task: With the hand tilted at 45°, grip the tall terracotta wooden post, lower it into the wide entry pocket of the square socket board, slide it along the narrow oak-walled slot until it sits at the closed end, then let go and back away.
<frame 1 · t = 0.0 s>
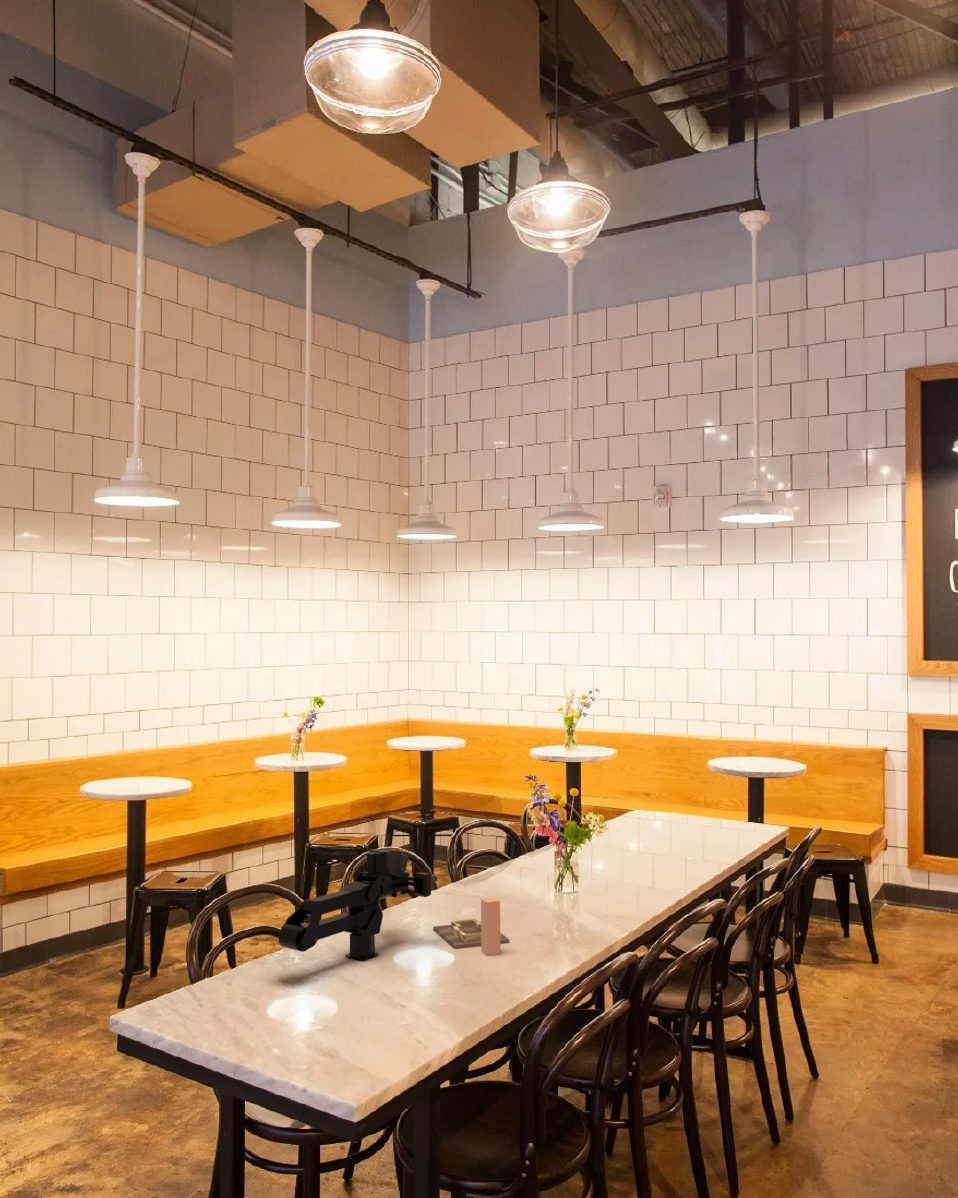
hand: (421, 876, 290), 16 cm above the table, tool horizontal, fingers open, 9 cm apart
terracotta post: (490, 953, 270), on the table
square socket board: (470, 936, 286), on the table
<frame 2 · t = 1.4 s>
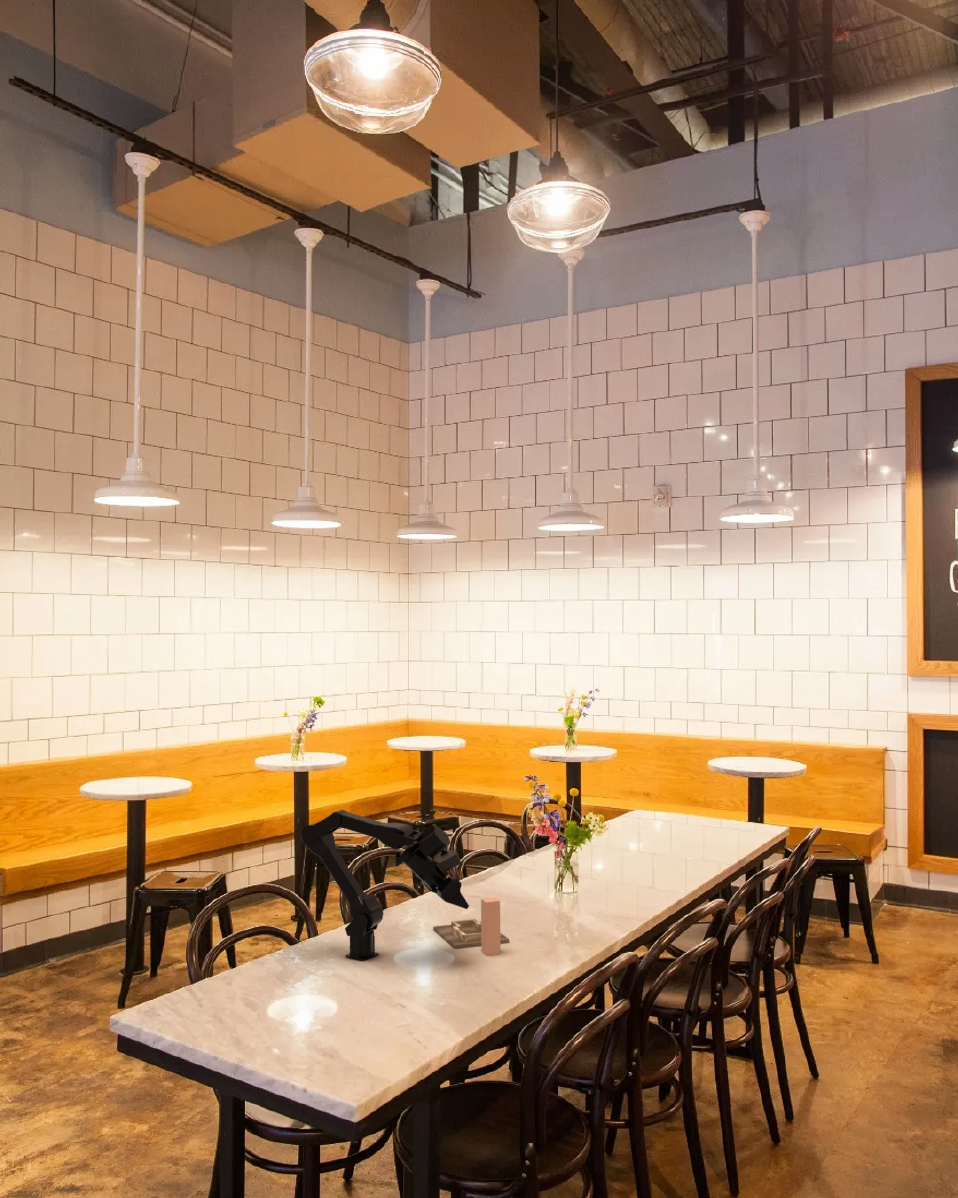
hand: (462, 903, 268), 14 cm above the table, tool tilted 45°, fingers open, 9 cm apart
nothing on the table moved.
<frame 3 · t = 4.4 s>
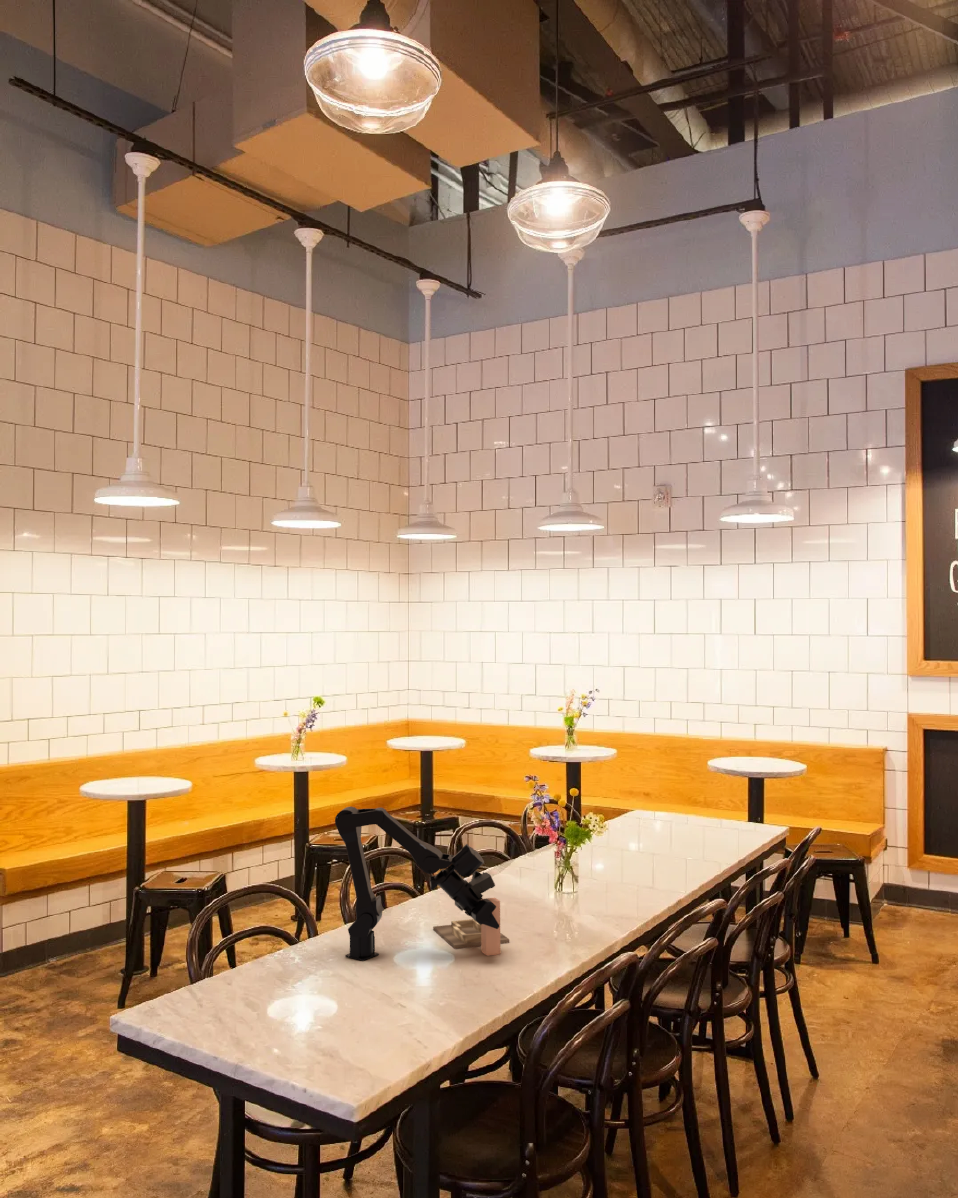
hand: (495, 925, 271), 7 cm above the table, tool tilted 45°, fingers closed on terracotta post, 4 cm apart
terracotta post: (490, 953, 270), on the table, touching gripper
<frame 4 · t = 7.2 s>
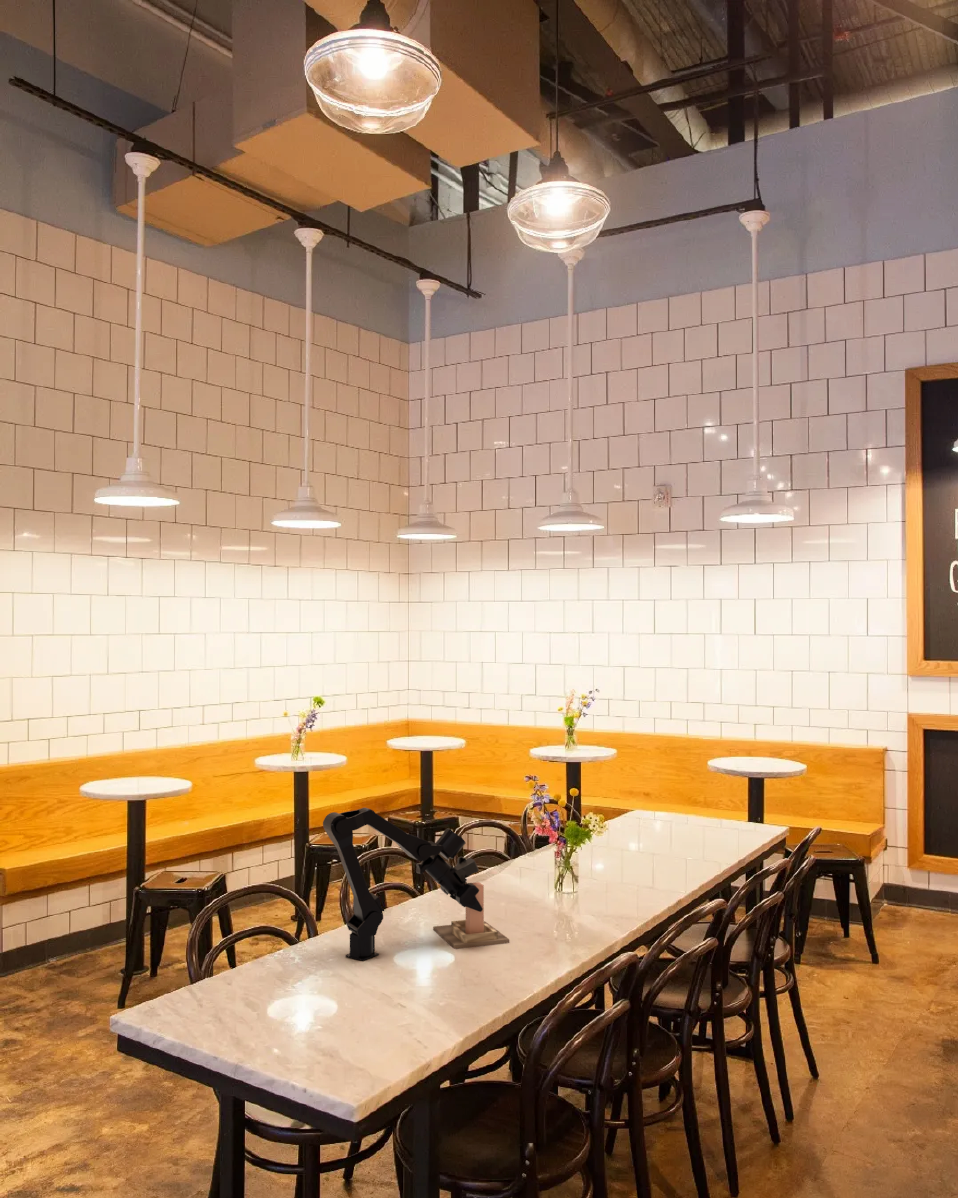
hand: (479, 908, 283), 9 cm above the table, tool tilted 45°, fingers closed on terracotta post, 4 cm apart
terracotta post: (474, 934, 282), point 1 cm above the table, touching gripper
when the fingers open (8 cm above the table, at t = 10.5 s): terracotta post stays where it is, resting on square socket board.
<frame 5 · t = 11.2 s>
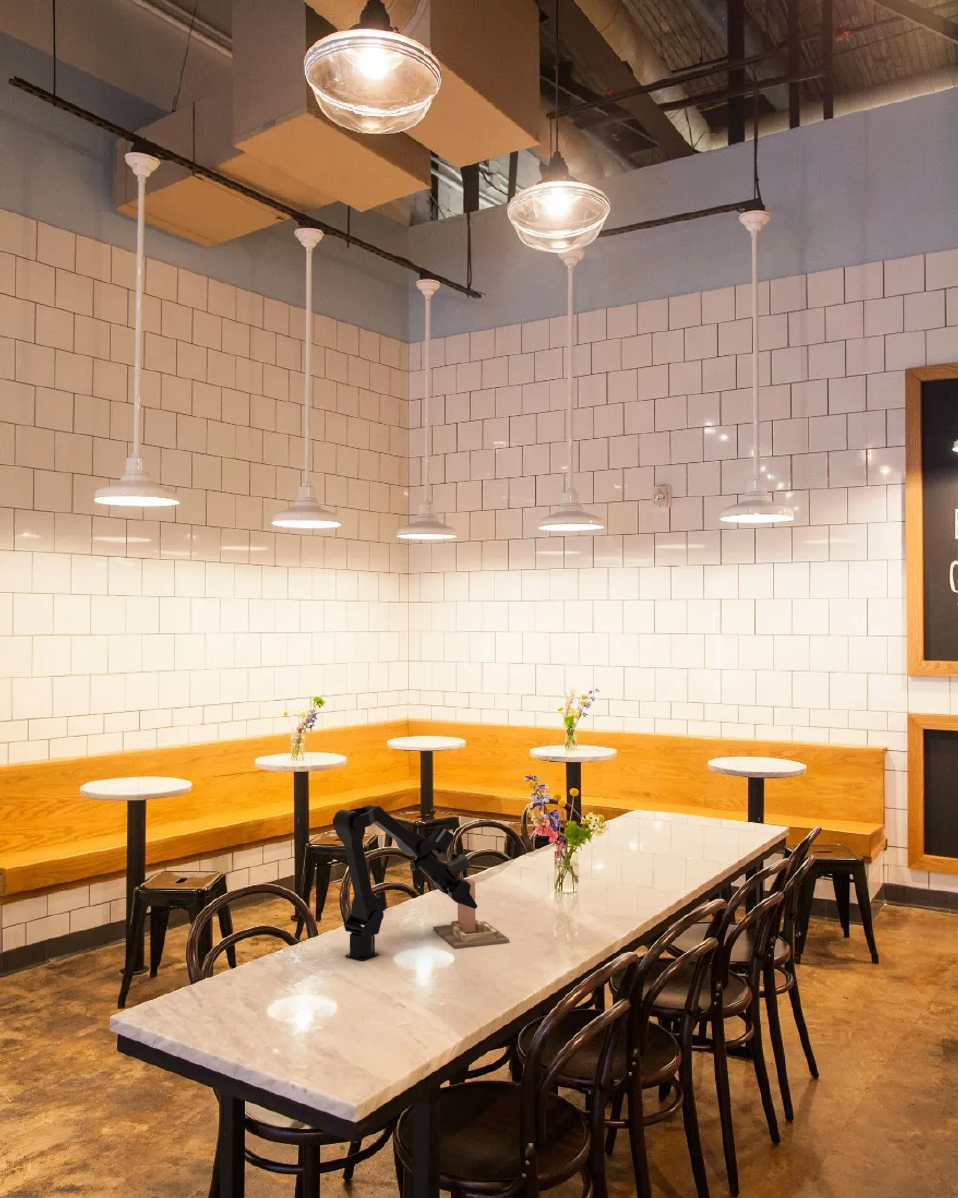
hand: (471, 904, 290), 8 cm above the table, tool tilted 45°, fingers open, 9 cm apart
terracotta post: (466, 930, 289), point 1 cm above the table, touching square socket board
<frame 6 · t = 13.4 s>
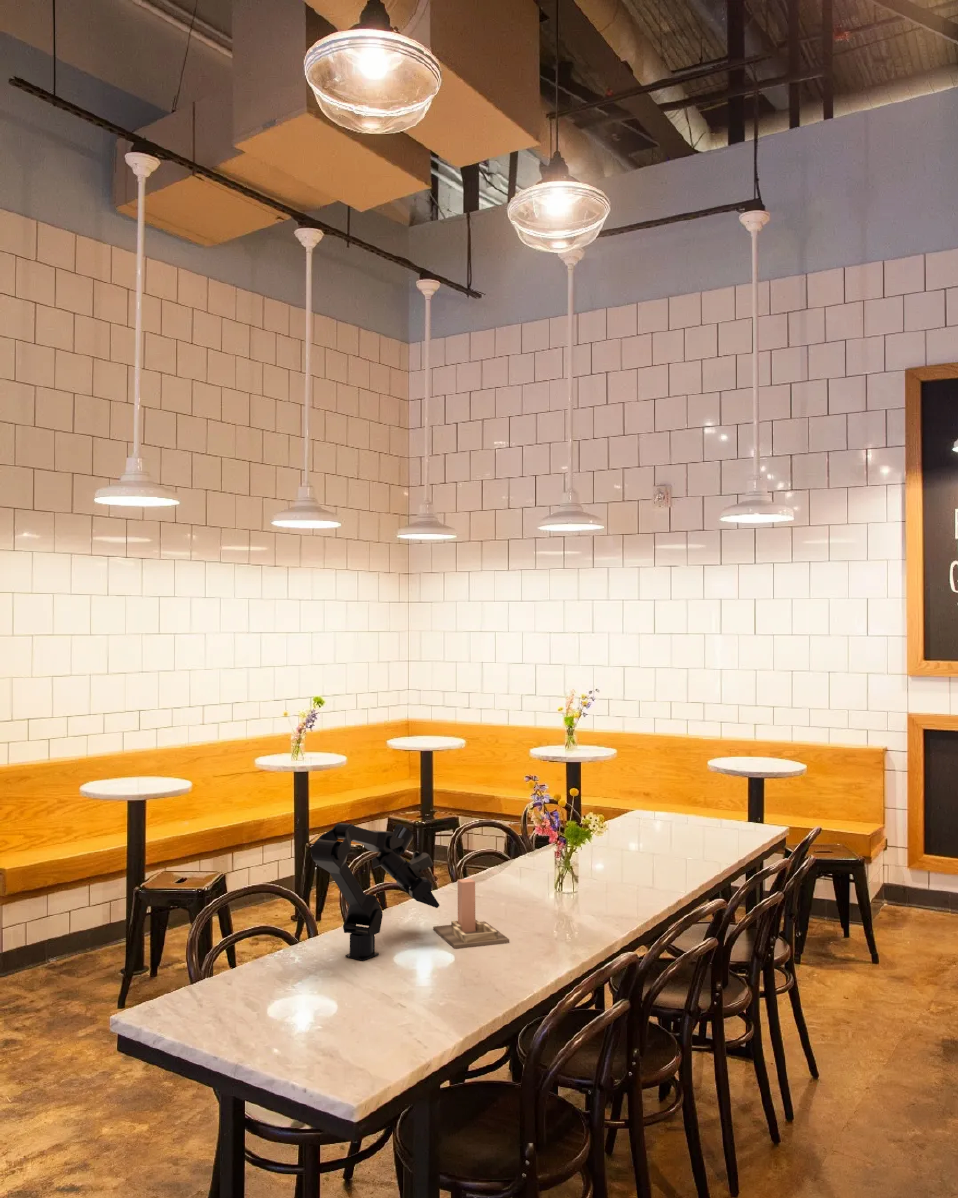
hand: (433, 903, 285), 10 cm above the table, tool tilted 45°, fingers open, 9 cm apart
nothing on the table moved.
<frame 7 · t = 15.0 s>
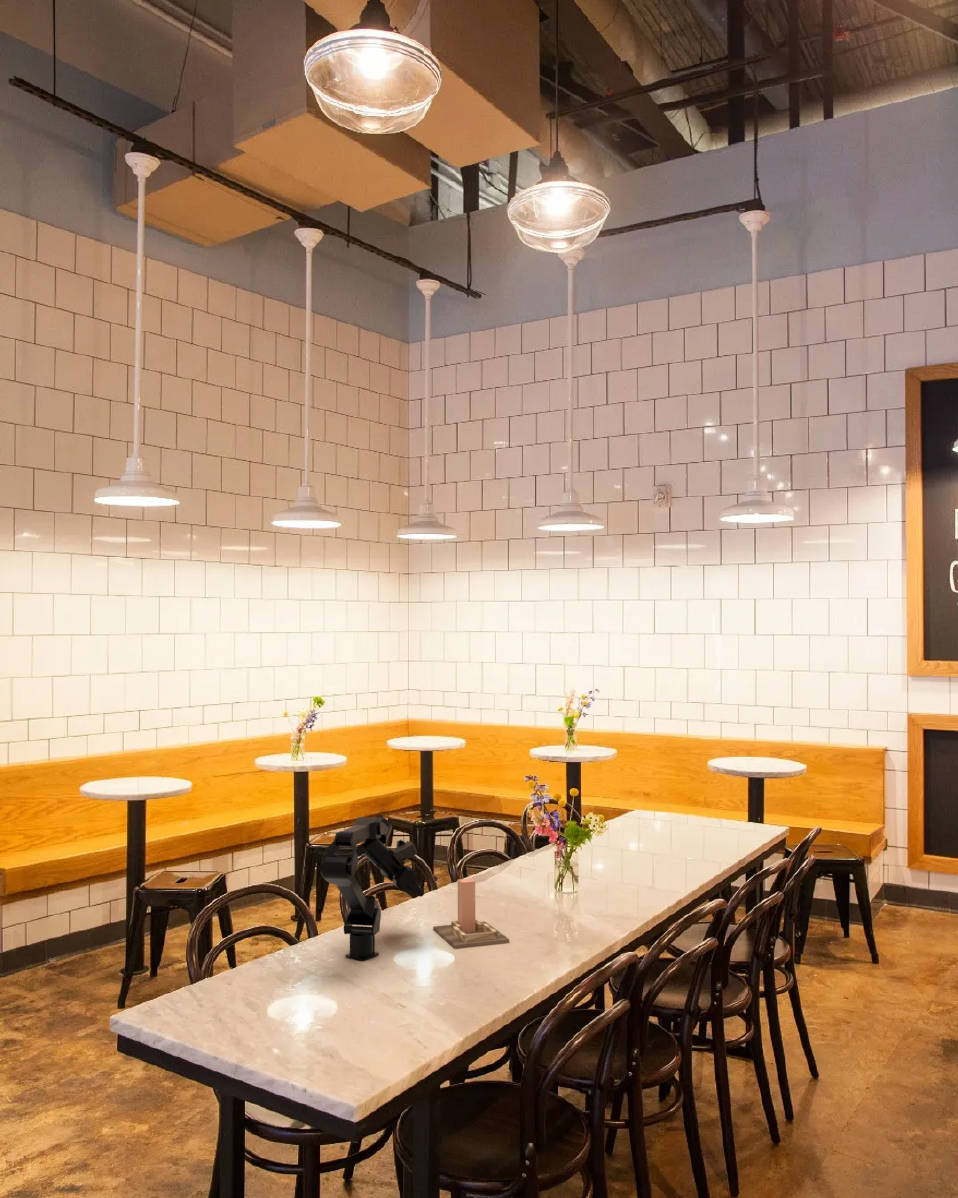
hand: (418, 891, 282), 14 cm above the table, tool tilted 45°, fingers open, 9 cm apart
nothing on the table moved.
at the end: terracotta post 0.4 cm from the target spot on the square socket board, point 1.0 cm above the square socket board's base; terracotta post tilted 0°; the gripper is holding nothing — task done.
